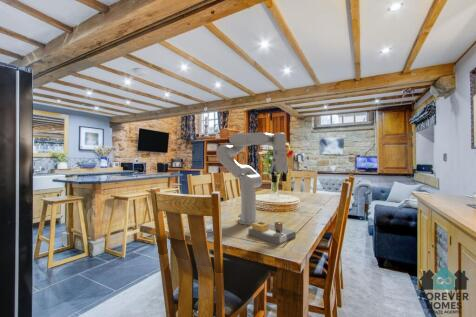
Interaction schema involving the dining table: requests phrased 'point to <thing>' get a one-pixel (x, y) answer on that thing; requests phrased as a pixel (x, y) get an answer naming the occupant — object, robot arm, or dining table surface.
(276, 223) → the awl
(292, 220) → the dining table surface
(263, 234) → the subfloor board
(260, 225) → the block
